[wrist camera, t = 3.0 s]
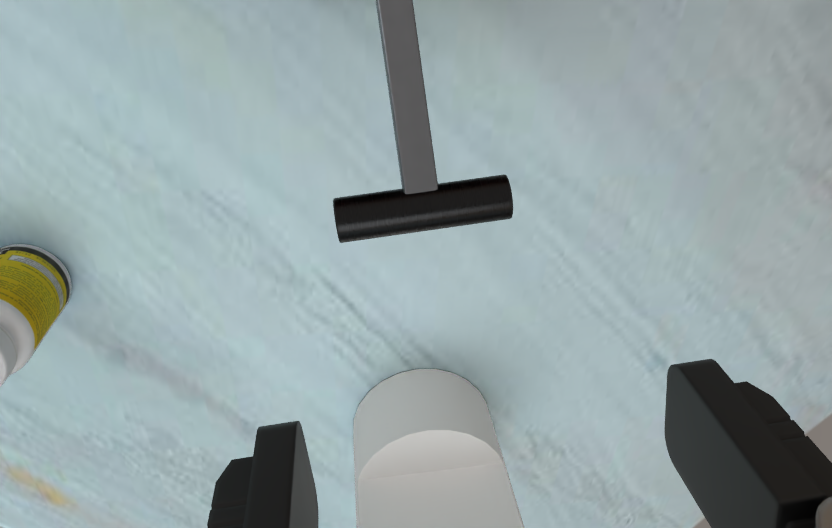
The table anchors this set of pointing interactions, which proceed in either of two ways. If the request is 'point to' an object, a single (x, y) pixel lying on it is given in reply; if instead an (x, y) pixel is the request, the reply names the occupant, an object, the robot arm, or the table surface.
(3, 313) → the supplement bottle
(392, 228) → the lever
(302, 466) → the robot arm
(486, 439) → the cylinder with rectangular tab
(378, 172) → the table surface
